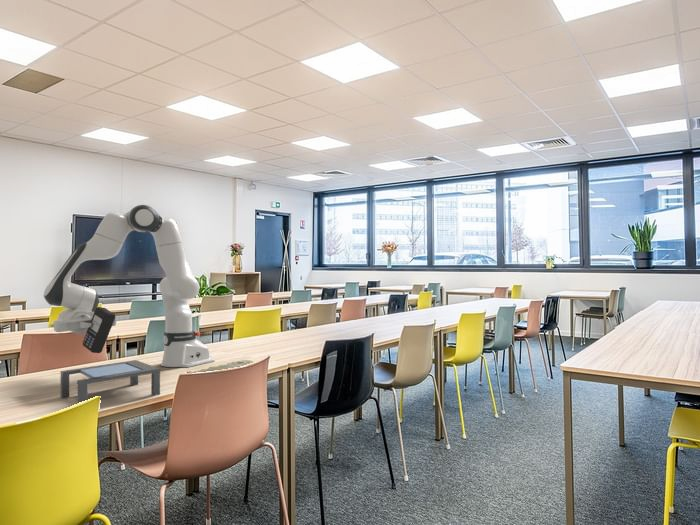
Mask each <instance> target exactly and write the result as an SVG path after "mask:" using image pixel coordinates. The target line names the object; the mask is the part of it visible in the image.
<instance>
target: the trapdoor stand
mask: <svg viewBox="0 0 700 525" xmlns="http://www.w3.org/2000/svg"><path fill="white" fill-rule="evenodd" d="M118 364H128V365H130V366H133V367H135V368H138V369H140V370H138V371H132V372H126V373H119V374H113V375H107V376H101V377H95V378H89V377H88V378H84V379H83V378H82V379H78V380H77V381H76V384H77V404H78V403H79V402H82V401H85V400H87V401H88V385H89V384H90V385H91V384H94V383H95V384H96V383H101V382H102V383H103V382H108V381H113V380H118V379H125V378H129V384H130V385H131V386H137V385H139V376H143V375H147V374H151V379H150V380H151V390H150V391H151V393H150V395H152V396H156V395H160V394H161V368H159V367H157V366H154V365H151V364H148V363H145V362H143V361H140V360H137V359H136V360H134V359H133V360H127V361H121V362H113V363H108V364H100V365H99V364H98V365H93V366H87V367H80V368H79V367H78V368H72V369H66V370H60V387H59V388H60V391H59V392H60V395H59V396H60V398H61V399H66V398H70V376H71V375H75V374H81V370H84V369H91V368H98V367H104V366H111V365H118Z"/></svg>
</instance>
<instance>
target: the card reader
mask: <svg viewBox="0 0 700 525" xmlns="http://www.w3.org/2000/svg"><path fill="white" fill-rule="evenodd" d="M115 317H116V314H115V313H113V312H112V311H110V310H109V309H107V308H106V307H102V306H98V307H97V308H96V310H95V312H94V315H93V317H92V320H91V322H93V323H94V326H93V327H91V328H88V330H87V332H86V333H85V335H84V338H83V340H82V346H83V347H84V348H86V349H87V350H88V351H89V352H91V353H93V354H101V353H102V352H103V349H104V347H105V345H106V342H107V340H108V337H109V334H110V332H111V329H112V327H113V326H112V325H113V322H114V320H115ZM91 322H90V323H91ZM91 326H92V325H91Z"/></svg>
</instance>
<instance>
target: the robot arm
mask: <svg viewBox="0 0 700 525" xmlns="http://www.w3.org/2000/svg"><path fill="white" fill-rule="evenodd" d="M96 228H97V229H96V230H95V232H94V234H93V236H92V237H91V238H90V239H89V240H88V241H87V242H83V243H80V244H79V245H78V246H76V248H75V249H74V251H72V253H71V254H70V256H68V258H67V259H66V261H65V262H64V264H63V265H62V267H61V268H60V269H59V271H58V273H57V274H56V275H55V276H54V278H52V280H50V282H49V283H48V285H46V287H45V290H44V293H43V298H44V300H45V301H46V302H47V303H48V304H49V305H51V306H56V307H63V308H66V309H64V310H62V311H61V312H60V313H59V314H58V316H57V320H54V321H53V323H50V324H49V327H50V328H53V330H54V332H56V333H62V332H72V333H74V334H77V335H80V334H81V335H83V334H86V332H87V330H88V328H91V327H93V326H94V323H93V322H91V320H92V317H93V315H94V312H95V310H96V308H97V307H99V303H100V297H99V294H98V292H97V290H96V289H93V288H92V287H88V286H83V285H80V284H77V283H73V282H71V281H70V279H71V277H72V276H73V275H74V273H75V272H76V271H77V269H78V268H79V267H80V265H81V264H83V263H84V262H86V261H95V260H96V261H97V260H98V261H100V260H101V261H104V260H109V259H112V258H115V257H117V255H118V254H119V253H120V251H121V249H123V248H122V247H123V245H124V243H125V242H126V239H127V237H128V235H129V234H130V233H132V232H137V233H146V232H148V233H150V234H151V235H152V236H153V237H152V239H153V240H154V246H155V250H156V253H157V254H156V255H157V258H158V263H159V266H160V267H161V268H162V270H163V273H164V275H165V277H163V278H162V279H161V280H160V282H159V284H158V285H159V287H158V288H159V292H160V294H161V300H162V304H163V310H164V330H165V331H164V333H163V344H164V348H163V356H162V359H161V362H160V363H161V364H160V366H162V367H165V368H166V367H168V368H190V367H194V366H200V365H204V364H208V363H213V362H215V357H213V356H211V355H210V350H209V348H208V346H207V345H206V344H204V343H202V342H201V341H200V340H199V339H197V338H196V337H200V336H201V333H200V331H195V330H193V312H192V310H191V307H190V303H189V301H190V300H191V299H194V298H195V297H197V295H199V292H200V287H201V286H200V283H199V281H198V280H197V279H196V277H195V276H194V273H193V271H192V268H191V267H190V264H189V262H188V259H187V255H186V252H185V247H184V242H183V238H182V234H181V231H180V228H179V226H178V223H177V221H175V220H174V219H173V218H169V217H164V218H162V216H161V215H160V214H159V213H158V212H157V211H156V210H155V209H154V208H153V207H152V206H150V205H148V204H140V205H139V204H138V205H136V206H134V207H132V208H131V209H130V211H128V212H127V213H125V214H124V213H121V212H117V211H111V212H108V213H107V214H106V215H104V217H103V218H102V220H101V221H100V223H99V224H98V226H97V227H96ZM90 322H91V323H90ZM91 325H92V326H91ZM116 325H117V317H116V316H115V320H114V322H113V325H112V327H115V326H116Z"/></svg>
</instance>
